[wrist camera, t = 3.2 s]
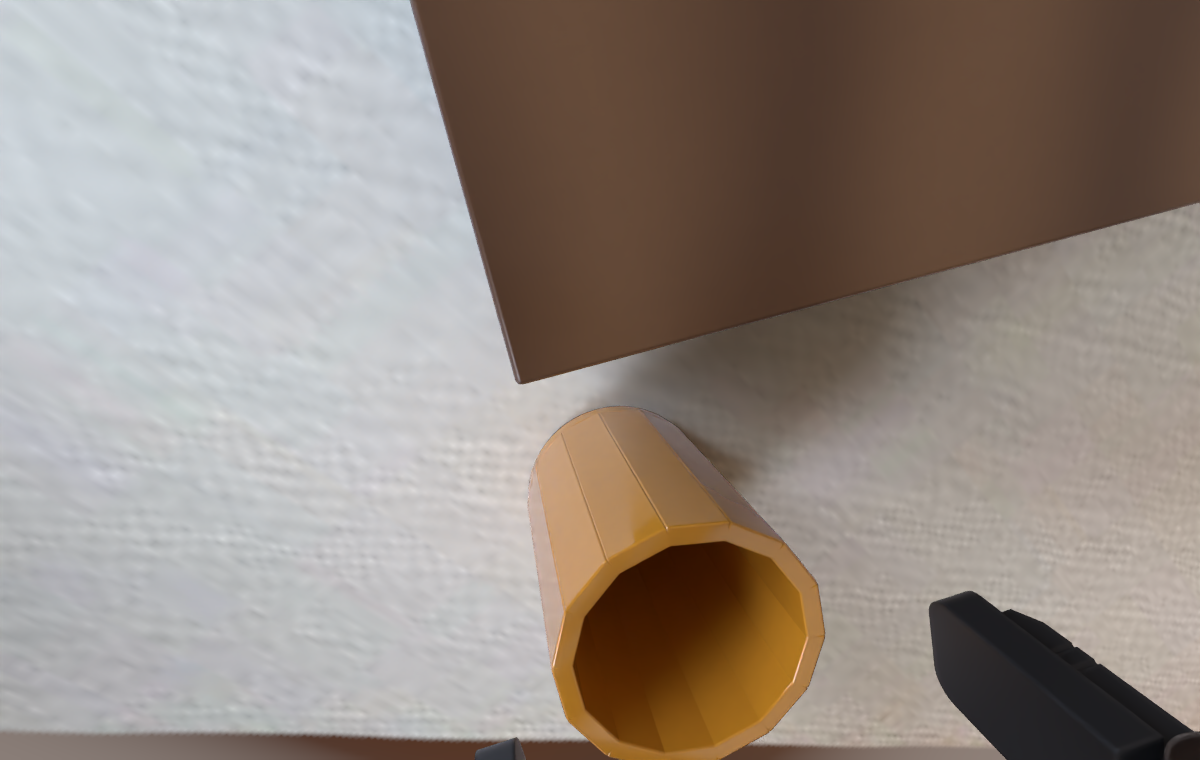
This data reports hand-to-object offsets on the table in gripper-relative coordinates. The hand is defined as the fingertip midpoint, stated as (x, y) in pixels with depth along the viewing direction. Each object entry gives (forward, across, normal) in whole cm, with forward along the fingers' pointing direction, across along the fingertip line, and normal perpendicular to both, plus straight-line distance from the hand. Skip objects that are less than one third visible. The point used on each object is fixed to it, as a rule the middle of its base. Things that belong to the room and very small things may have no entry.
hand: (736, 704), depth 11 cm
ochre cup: (+10, 0, 0) cm, 10 cm away
